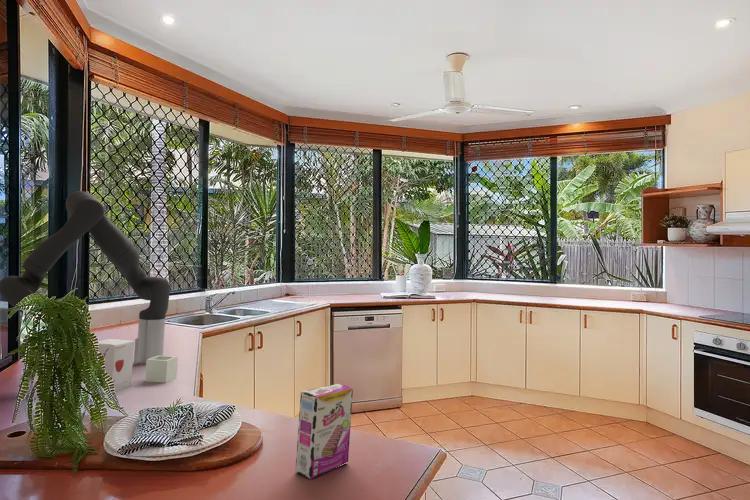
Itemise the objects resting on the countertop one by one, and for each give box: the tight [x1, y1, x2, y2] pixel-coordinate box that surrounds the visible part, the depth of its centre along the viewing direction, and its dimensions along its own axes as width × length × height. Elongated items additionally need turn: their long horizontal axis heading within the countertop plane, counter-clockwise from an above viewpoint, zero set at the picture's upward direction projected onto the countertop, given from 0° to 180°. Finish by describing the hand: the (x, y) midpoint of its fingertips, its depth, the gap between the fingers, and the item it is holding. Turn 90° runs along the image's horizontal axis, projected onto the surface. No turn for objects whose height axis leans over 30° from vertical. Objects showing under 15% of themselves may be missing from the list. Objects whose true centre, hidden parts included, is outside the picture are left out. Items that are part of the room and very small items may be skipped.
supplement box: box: [98, 338, 135, 392], centre depth 147 cm, size 9×9×15 cm
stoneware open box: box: [144, 355, 179, 384], centre depth 160 cm, size 7×7×8 cm
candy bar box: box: [295, 383, 354, 480], centre depth 100 cm, size 11×5×16 cm, turn 141°
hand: (85, 369), depth 148 cm, fingers closed
